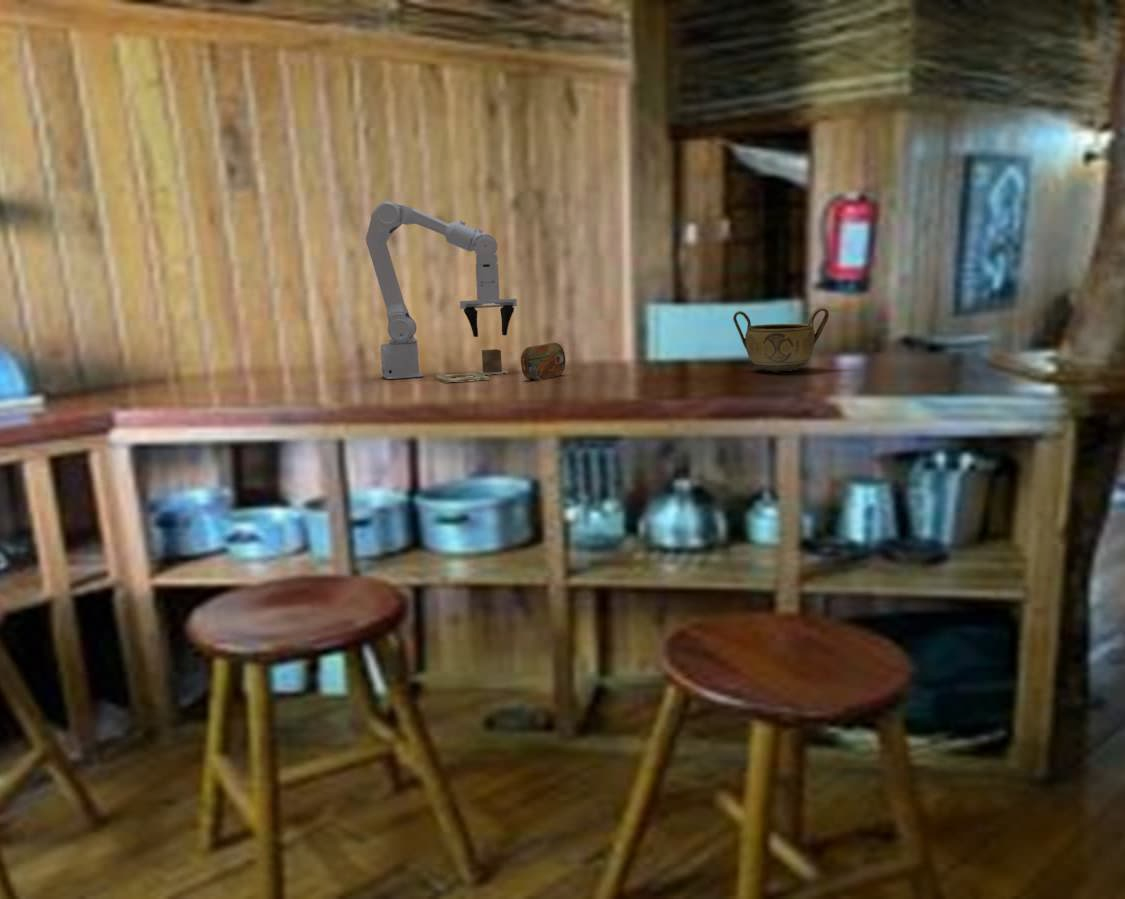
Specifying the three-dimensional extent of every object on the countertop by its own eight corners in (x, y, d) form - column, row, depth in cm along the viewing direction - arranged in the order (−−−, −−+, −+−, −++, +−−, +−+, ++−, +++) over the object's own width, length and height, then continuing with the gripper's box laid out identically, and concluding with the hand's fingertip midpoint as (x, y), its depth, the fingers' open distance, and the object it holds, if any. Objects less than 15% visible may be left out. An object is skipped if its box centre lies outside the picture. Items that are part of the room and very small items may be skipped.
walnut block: (486, 372, 253) (485, 351, 252) (482, 371, 256) (481, 350, 255) (501, 371, 254) (500, 350, 253) (497, 370, 258) (496, 349, 257)
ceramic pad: (482, 375, 251) (482, 373, 251) (475, 373, 258) (475, 371, 258) (508, 373, 253) (508, 371, 253) (501, 371, 260) (501, 369, 260)
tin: (529, 382, 235) (527, 346, 234) (519, 381, 237) (517, 346, 235) (567, 375, 247) (566, 341, 245) (557, 374, 249) (556, 341, 247)
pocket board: (445, 383, 237) (445, 380, 237) (435, 378, 249) (435, 375, 248) (489, 380, 241) (489, 377, 241) (477, 375, 252) (477, 372, 252)
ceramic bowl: (825, 366, 244) (825, 305, 241) (830, 374, 228) (831, 309, 225) (733, 368, 248) (733, 308, 245) (732, 376, 232) (732, 311, 229)
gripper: (463, 283, 245) (466, 338, 248) (519, 281, 250) (521, 335, 252) (457, 283, 252) (460, 336, 254) (511, 281, 256) (513, 333, 259)
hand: (490, 336), depth 254 cm, fingers open, 7 cm apart
